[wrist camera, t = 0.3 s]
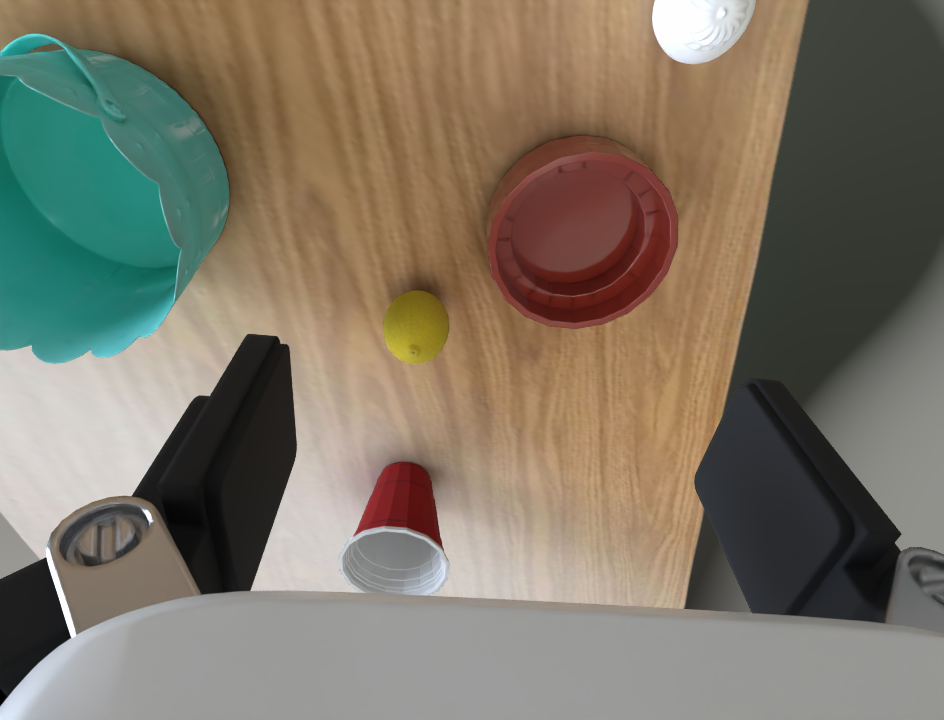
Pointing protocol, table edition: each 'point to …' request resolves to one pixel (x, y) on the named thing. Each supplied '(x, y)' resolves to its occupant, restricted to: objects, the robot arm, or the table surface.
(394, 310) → the lemon
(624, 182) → the bowl
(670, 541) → the table surface
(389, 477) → the plastic cup
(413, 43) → the table surface
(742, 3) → the muffin
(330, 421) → the table surface
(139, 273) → the basket
